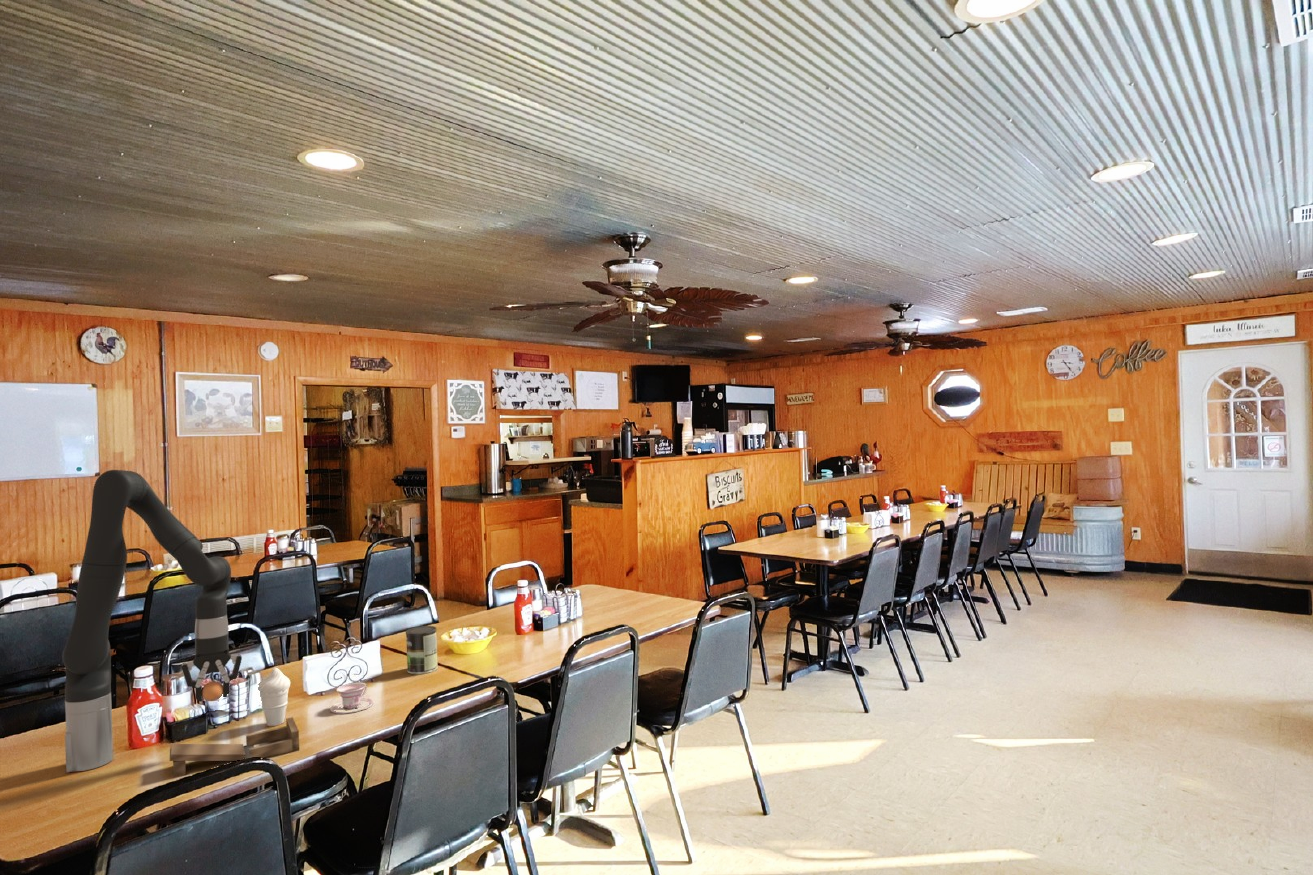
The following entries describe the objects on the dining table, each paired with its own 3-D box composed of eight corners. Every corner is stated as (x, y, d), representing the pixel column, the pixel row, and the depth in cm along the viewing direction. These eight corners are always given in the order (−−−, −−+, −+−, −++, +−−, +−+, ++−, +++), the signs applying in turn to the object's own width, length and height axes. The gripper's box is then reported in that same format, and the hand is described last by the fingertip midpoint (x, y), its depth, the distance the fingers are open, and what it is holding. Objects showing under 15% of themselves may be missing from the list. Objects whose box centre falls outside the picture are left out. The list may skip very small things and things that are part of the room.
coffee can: (409, 676, 247) (407, 634, 247) (405, 668, 256) (404, 628, 256) (440, 671, 251) (438, 630, 251) (435, 663, 261) (434, 624, 261)
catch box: (246, 762, 182) (245, 742, 182) (243, 747, 192) (242, 728, 192) (299, 749, 188) (298, 730, 189) (293, 735, 199) (292, 717, 199)
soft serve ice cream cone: (252, 726, 206) (250, 670, 207) (279, 716, 214) (277, 661, 214) (271, 730, 203) (269, 673, 203) (298, 720, 210) (296, 664, 210)
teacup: (344, 717, 211) (343, 696, 211) (322, 709, 218) (321, 689, 218) (381, 704, 221) (380, 684, 221) (359, 697, 228) (358, 677, 228)
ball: (201, 705, 188) (201, 685, 188) (201, 700, 192) (201, 681, 192) (224, 701, 191) (223, 682, 191) (223, 696, 195) (223, 677, 195)
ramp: (170, 778, 175) (169, 754, 175) (170, 766, 182) (169, 744, 182) (245, 760, 184) (244, 737, 184) (243, 749, 190) (242, 728, 190)
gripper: (179, 641, 185) (180, 708, 184) (243, 632, 192) (244, 696, 192) (179, 635, 191) (180, 700, 191) (242, 626, 199) (243, 689, 198)
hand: (212, 698), depth 191 cm, fingers closed on ball, 5 cm apart
